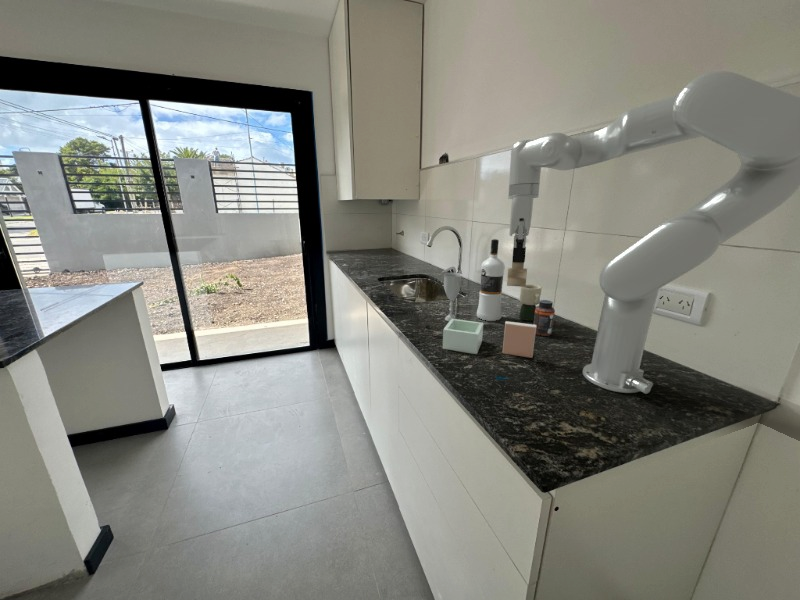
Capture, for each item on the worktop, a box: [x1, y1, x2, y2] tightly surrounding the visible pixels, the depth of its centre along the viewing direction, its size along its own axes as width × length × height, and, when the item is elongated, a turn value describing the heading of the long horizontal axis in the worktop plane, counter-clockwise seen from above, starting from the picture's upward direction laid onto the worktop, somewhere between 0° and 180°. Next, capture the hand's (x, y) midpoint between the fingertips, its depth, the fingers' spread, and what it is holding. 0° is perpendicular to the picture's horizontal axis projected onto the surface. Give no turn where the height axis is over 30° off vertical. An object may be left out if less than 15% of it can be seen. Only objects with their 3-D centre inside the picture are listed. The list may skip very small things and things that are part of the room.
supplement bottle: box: [532, 299, 556, 337], centre depth 105 cm, size 6×6×11 cm
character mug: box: [518, 284, 542, 321], centre depth 118 cm, size 11×7×13 cm, turn 8°
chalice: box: [442, 272, 463, 322], centre depth 115 cm, size 7×7×18 cm
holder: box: [442, 318, 484, 355], centre depth 95 cm, size 10×10×7 cm
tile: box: [502, 320, 536, 359], centre depth 88 cm, size 8×2×10 cm, turn 68°
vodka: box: [476, 238, 505, 322], centre depth 118 cm, size 9×9×30 cm
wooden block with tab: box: [506, 235, 528, 288], centre depth 88 cm, size 5×3×14 cm, turn 70°
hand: (518, 260), depth 88 cm, fingers closed on wooden block with tab, 3 cm apart
